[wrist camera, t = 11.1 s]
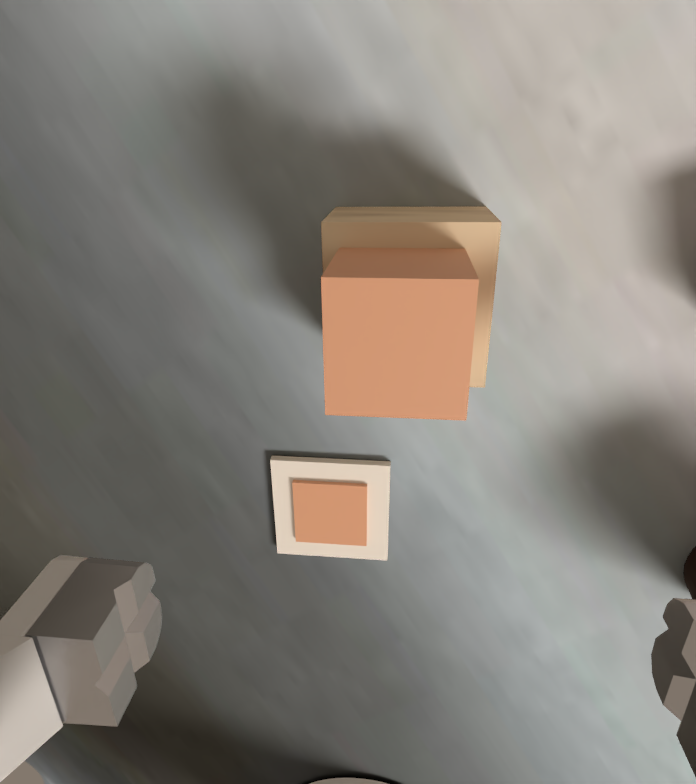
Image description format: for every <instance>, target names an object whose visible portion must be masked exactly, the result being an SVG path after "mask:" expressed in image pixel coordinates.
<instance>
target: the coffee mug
mask: <svg viewBox="0 0 696 784" xmlns="http://www.w3.org/2000/svg"><path fill="white" fill-rule="evenodd" d="M683 574H684V580H685V583H686V585H687V587H688V590H689V592H690V594H691V597H692V599H696V547H695V548H694V549H693V550H692V551H691V553H690V554H689V556H688V557H687V560H686V562H685V565H684V572H683Z"/></svg>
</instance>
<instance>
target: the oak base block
mask: <svg viewBox="0 0 696 784" xmlns="http://www.w3.org/2000/svg"><path fill="white" fill-rule="evenodd" d="M500 232H501V221H500V220H499V219H498V218H497V217H496V216H495V215H494V214H493V213H492V212H491V211H490V210H489V209H488V208H487V207H486V206H457V207H335V208H334V209H333V210H332V211H331V212H330V214H329V215H328V216H327V217H326V218H325V219H324V220H323V221H322V222H321V234H322V263H323V273H324V272H325V270H326V268H327V267H328V265H329V263H330V262H331V260H332V259H333V257H334V255H335V254H336V252H337V251H338V249H339V248H454V249H466V251H467V254H468V256H469V258H470V260H471V262H472V265H473V267H474V269H475V271H476V274H477V276H478V278H479V287H478V298H477V309H476V319H475V330H474V341H473V352H472V363H471V374H470V385H469V387H485V380H486V370H487V360H488V350H489V340H490V330H491V321H492V311H493V301H494V291H495V281H496V271H497V261H498V251H499V241H500Z"/></svg>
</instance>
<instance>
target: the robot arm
mask: <svg viewBox="0 0 696 784" xmlns="http://www.w3.org/2000/svg"><path fill="white" fill-rule="evenodd" d="M155 581H156V580H155V576H154V572H153V568H152V565H150V564H148V563H146V562H135V561H125V560H114V559H104V558H93V557H89V558H85V557H75V556H66V555H60V556H58V557H56V558H54V559H52V560H51V561H50V562H49V563H48V565H47V566H46V567H45V568H44V569H43V570H42V572H41V573H40V574H39V575H38V576H37V578H36V579H35V580H34V581H33V582H32V583H31V585H30V586H29V587H28V588H27V589H26V591H25V592H24V593H23V594H22V595H21V596H20V598H19V599H18V600H17V601H16V602H15V604H14V605H13V606H12V607H11V608H10V609H9V611H8V612H7V613H6V614H5V615H4V617H3V618H2V619H1V620H0V782H1V781H2V780H3V779H4V778H5V777H6V776H8V775H9V774H10V773H11V772H12V771H13V770H14V769H15V768H17V767H18V766H19V765H20V764H21V763H22V762H23V761H25V760H26V759H27V758H28V757H29V756H30V755H31V754H32V753H34V752H35V751H36V750H37V749H38V748H39V747H40V746H42V745H43V744H44V743H45V742H46V741H47V740H48V739H49V738H51V737H52V736H53V735H54V734H55V733H56V732H57V731H58V730H60V729H61V728H62V727H63V724H62V723H71V724H86V725H101V726H116V727H117V726H118V724H119V722H120V720H121V718H122V716H123V714H124V712H125V710H126V708H127V706H128V704H129V702H130V700H131V698H132V696H133V694H134V692H135V690H136V688H137V683H136V679H135V674H134V672H136V671H137V670H138V669H140V668H141V667H142V666H144V665H145V664H146V663H148V662H149V661H150V659H151V657H152V655H153V653H154V651H155V649H156V646H157V644H158V639H159V635H160V631H161V627H162V610H161V605H160V601H159V600H158V599H157V598H156V597H155V596H154V595H153V594H152V593H151V592H150V590H151V588H152V586H153V585H154V583H155ZM663 618H664V620H665V622H666V624H667V626H668V628H669V629H668V630H667V631H665V632H664V633H662V634H661V635H660V636H658V637H657V638H656V639H655V643H654V647H653V650H652V654H651V657H652V674H653V678H654V682H655V686H656V689H657V692H658V694H659V696H660V699H661V701H662V703H663V705H664V706H665V707H666V708H667V709H668V710H669V711H671V712H672V713H673V714H674V715H675V716H676V717H677V718H679V719H680V720H681V723H680V726H679V729H678V732H677V737H678V739H679V741H680V744H681V746H682V748H683V750H684V752H685V755H686V757H687V759H688V761H689V763H690V766H691V768H692V770H693V772H694V774H695V777H696V599H679V598H673V599H672V600H671V601H670V602H669V603H668V604H667V606H666V609H665V612H664V614H663ZM309 784H388V783H384V782H380V781H375V780H369V779H361V778H332V779H325V780H320V781H316V782H312V783H309Z"/></svg>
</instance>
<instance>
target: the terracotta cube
mask: <svg viewBox="0 0 696 784" xmlns="http://www.w3.org/2000/svg"><path fill="white" fill-rule="evenodd" d="M478 287H479V278H478V276H477V274H476V271H475V269H474V267H473V265H472V262H471V260H470V258H469V256H468V254H467V251H466V249H454V248H339V249H338V251H337V252H336V254H335V255H334V257H333V259H332V260H331V262H330V263H329V265H328V267H327V268H326V270H325V272H324V273H323V275H322V276H321V295H322V325H323V356H324V387H325V415H341V416H366V417H392V418H417V419H443V420H466V418H467V407H468V396H469V385H470V374H471V363H472V352H473V341H474V330H475V319H476V309H477V298H478Z"/></svg>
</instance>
